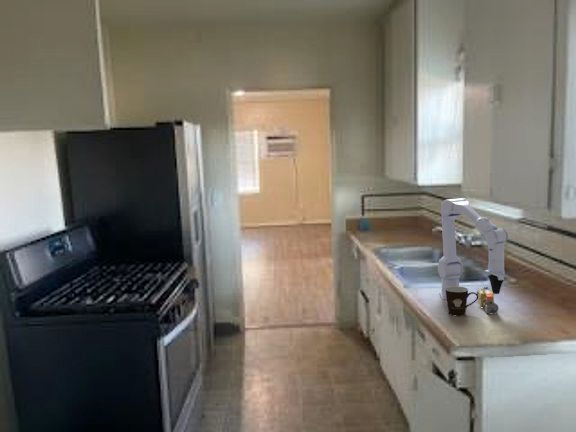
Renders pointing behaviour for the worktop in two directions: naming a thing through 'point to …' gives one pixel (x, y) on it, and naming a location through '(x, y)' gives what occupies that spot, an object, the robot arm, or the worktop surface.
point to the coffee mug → (457, 300)
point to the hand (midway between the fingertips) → (495, 293)
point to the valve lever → (488, 294)
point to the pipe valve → (487, 302)
